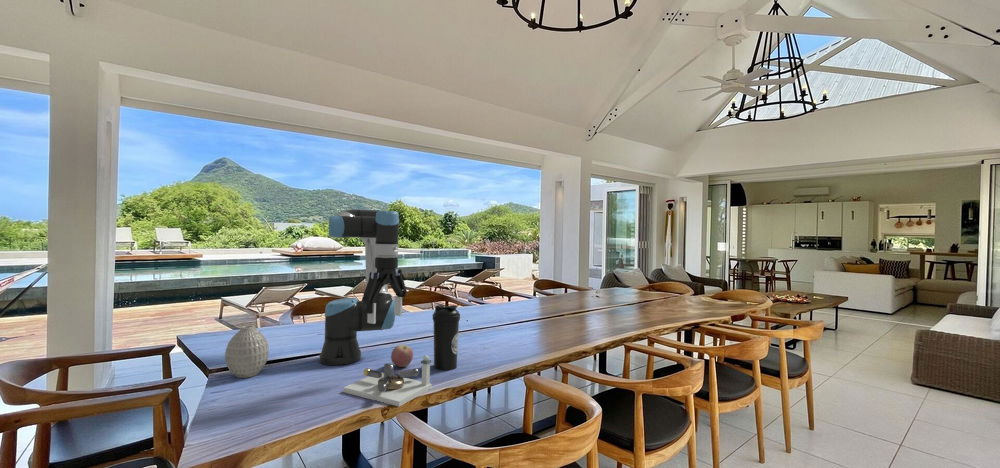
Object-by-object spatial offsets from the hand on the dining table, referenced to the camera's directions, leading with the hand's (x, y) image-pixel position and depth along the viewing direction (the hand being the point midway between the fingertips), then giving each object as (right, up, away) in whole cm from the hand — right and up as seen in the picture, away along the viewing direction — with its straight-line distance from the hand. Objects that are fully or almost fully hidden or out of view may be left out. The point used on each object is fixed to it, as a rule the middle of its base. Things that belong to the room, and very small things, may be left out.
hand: (385, 319), depth 142 cm
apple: (+2, -21, +14) cm, 25 cm away
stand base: (+3, -21, -9) cm, 23 cm away
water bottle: (+18, -21, +15) cm, 32 cm away
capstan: (+1, -19, -8) cm, 21 cm away
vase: (-48, -20, +2) cm, 52 cm away
